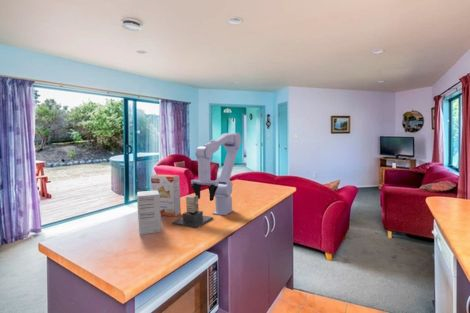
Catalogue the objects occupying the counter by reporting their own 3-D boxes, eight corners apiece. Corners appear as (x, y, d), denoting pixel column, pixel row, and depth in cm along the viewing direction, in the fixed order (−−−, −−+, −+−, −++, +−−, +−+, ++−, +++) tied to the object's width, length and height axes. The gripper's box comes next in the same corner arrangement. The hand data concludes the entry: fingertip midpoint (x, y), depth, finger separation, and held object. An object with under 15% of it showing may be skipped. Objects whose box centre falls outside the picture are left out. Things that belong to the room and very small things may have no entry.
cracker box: (152, 214, 140) (150, 175, 138) (159, 211, 146) (157, 174, 144) (174, 217, 135) (173, 176, 133) (181, 213, 141) (179, 174, 139)
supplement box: (138, 228, 120) (136, 191, 119) (159, 225, 124) (158, 189, 122) (139, 235, 112) (136, 196, 110) (161, 232, 115) (159, 193, 113)
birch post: (191, 209, 130) (191, 195, 129) (198, 210, 128) (198, 195, 127) (186, 211, 126) (186, 196, 126) (193, 212, 124) (193, 197, 124)
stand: (190, 215, 137) (189, 205, 137) (213, 219, 131) (212, 208, 130) (172, 224, 125) (171, 213, 124) (196, 228, 118) (196, 216, 118)
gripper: (187, 171, 126) (187, 199, 127) (212, 173, 120) (213, 202, 121) (195, 170, 133) (196, 197, 134) (220, 171, 126) (221, 199, 127)
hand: (204, 199), depth 128 cm, fingers open, 7 cm apart
